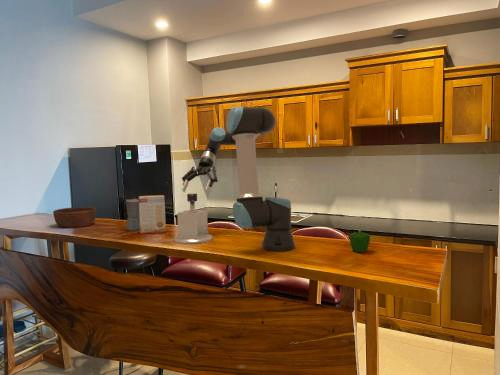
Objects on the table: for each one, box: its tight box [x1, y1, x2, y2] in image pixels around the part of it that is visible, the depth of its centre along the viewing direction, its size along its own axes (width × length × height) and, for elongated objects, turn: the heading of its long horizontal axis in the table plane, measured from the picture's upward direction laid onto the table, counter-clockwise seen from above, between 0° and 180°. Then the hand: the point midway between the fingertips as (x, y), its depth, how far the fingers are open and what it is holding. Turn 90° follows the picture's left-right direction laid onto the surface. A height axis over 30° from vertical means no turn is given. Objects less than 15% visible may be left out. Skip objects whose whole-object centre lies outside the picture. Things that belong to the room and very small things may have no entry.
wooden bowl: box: [52, 206, 97, 229], centre depth 235 cm, size 25×25×10 cm
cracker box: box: [138, 194, 167, 235], centre depth 208 cm, size 14×6×21 cm, turn 105°
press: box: [172, 209, 214, 245], centre depth 188 cm, size 20×20×14 cm
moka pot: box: [120, 195, 140, 232], centre depth 217 cm, size 10×15×20 cm, turn 78°
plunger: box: [186, 193, 198, 212], centre depth 188 cm, size 8×8×22 cm
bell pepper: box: [349, 229, 371, 253], centre depth 160 cm, size 8×8×10 cm
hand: (194, 191), depth 190 cm, fingers open, 13 cm apart
